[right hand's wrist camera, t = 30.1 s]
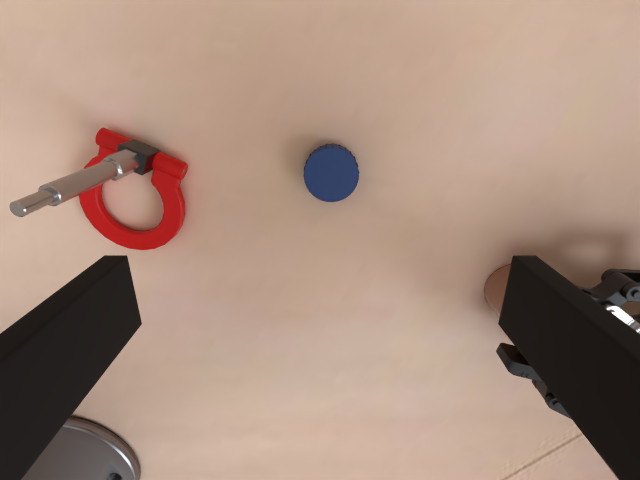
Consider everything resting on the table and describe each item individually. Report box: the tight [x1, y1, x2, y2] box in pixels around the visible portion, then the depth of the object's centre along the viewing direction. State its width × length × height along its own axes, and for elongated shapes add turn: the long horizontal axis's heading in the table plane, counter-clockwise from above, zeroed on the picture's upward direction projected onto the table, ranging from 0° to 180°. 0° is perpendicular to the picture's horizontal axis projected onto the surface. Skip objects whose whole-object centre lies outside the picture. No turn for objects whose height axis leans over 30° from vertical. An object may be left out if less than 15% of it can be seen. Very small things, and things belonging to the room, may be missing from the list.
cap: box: [304, 144, 359, 202], centre depth 28 cm, size 4×4×2 cm
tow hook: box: [10, 128, 188, 250], centre depth 25 cm, size 8×13×9 cm
